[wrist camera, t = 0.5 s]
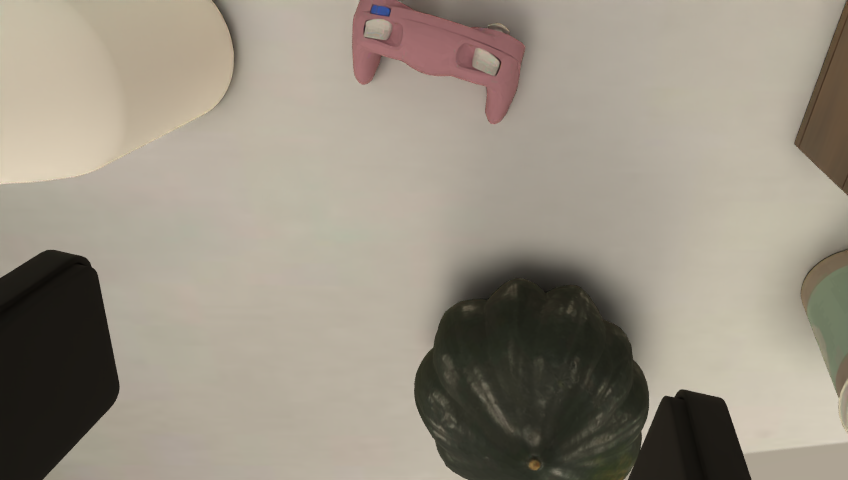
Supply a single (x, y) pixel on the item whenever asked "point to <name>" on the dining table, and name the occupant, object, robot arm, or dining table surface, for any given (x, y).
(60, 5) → the wine bottle
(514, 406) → the squash
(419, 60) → the video game controller
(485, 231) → the dining table surface
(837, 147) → the cabinet
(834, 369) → the coffee cup
